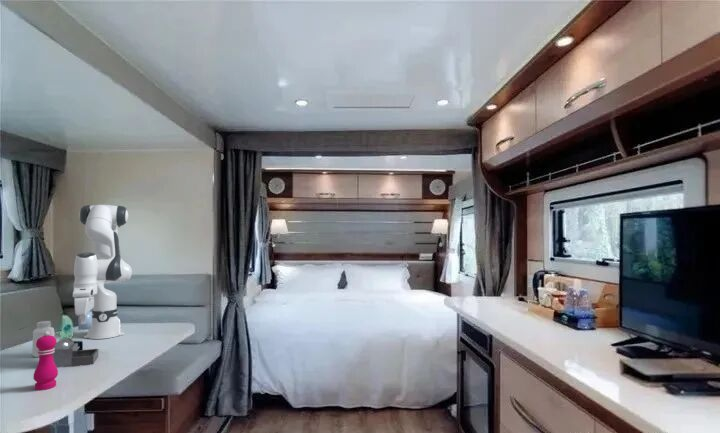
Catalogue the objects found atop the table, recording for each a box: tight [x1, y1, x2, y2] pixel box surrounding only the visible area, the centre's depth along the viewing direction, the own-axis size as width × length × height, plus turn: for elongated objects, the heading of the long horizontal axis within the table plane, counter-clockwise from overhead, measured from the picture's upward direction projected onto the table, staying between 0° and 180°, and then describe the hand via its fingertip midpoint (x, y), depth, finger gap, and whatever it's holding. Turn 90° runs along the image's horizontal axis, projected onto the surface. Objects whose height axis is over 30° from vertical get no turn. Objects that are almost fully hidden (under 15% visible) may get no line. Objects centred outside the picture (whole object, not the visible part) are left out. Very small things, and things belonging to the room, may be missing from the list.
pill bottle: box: [31, 320, 55, 358], centre depth 199 cm, size 8×8×15 cm
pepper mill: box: [32, 331, 59, 391], centre depth 158 cm, size 7×7×20 cm
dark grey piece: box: [53, 337, 99, 368], centre depth 187 cm, size 13×16×10 cm
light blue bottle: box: [77, 310, 93, 331], centre depth 189 cm, size 5×5×9 cm
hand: (85, 322), depth 189 cm, fingers closed on light blue bottle, 5 cm apart
